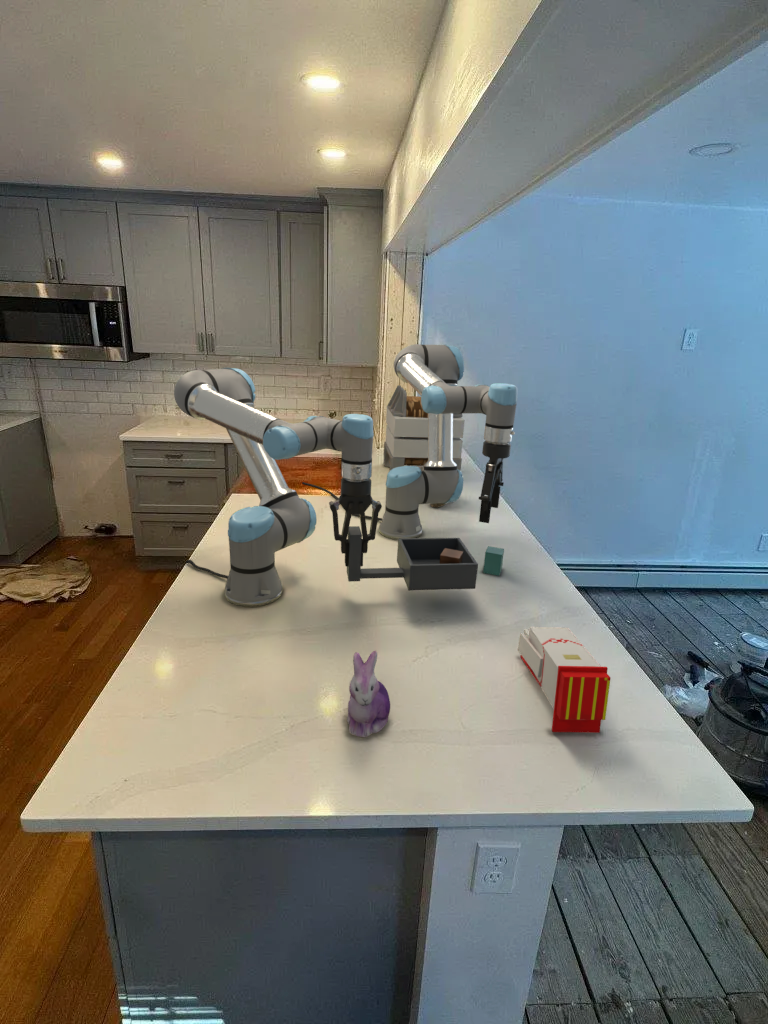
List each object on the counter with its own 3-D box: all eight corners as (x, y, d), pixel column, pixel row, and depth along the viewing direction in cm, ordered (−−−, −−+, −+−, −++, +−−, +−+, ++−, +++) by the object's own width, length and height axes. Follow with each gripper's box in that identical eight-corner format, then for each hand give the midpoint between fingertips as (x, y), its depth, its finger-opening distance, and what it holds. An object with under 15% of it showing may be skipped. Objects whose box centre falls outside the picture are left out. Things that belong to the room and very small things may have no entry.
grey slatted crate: (382, 463, 289) (386, 382, 275) (445, 464, 293) (451, 384, 279) (390, 482, 257) (394, 392, 243) (460, 483, 261) (468, 394, 247)
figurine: (356, 747, 102) (359, 677, 97) (334, 712, 111) (335, 646, 105) (402, 731, 106) (406, 663, 101) (377, 699, 115) (380, 635, 110)
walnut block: (437, 579, 149) (440, 554, 146) (442, 571, 153) (444, 547, 151) (456, 583, 147) (459, 558, 145) (460, 575, 151) (463, 551, 149)
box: (350, 592, 141) (352, 544, 137) (344, 562, 157) (345, 518, 153) (475, 588, 146) (480, 542, 142) (457, 560, 163) (461, 517, 158)
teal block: (482, 572, 173) (485, 551, 171) (485, 566, 177) (488, 545, 175) (499, 575, 171) (502, 554, 169) (501, 569, 176) (504, 548, 174)
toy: (564, 611, 133) (619, 673, 103) (558, 664, 135) (611, 739, 106) (512, 610, 132) (554, 672, 103) (508, 663, 135) (547, 738, 106)
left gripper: (324, 482, 136) (323, 571, 144) (390, 482, 138) (386, 569, 146) (322, 473, 143) (322, 558, 151) (386, 473, 145) (381, 557, 153)
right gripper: (503, 453, 143) (493, 531, 150) (518, 434, 165) (509, 503, 172) (473, 449, 145) (465, 526, 153) (492, 431, 167) (484, 499, 174)
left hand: (353, 563), depth 148 cm, fingers closed on box, 3 cm apart
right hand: (488, 514), depth 162 cm, fingers open, 13 cm apart
